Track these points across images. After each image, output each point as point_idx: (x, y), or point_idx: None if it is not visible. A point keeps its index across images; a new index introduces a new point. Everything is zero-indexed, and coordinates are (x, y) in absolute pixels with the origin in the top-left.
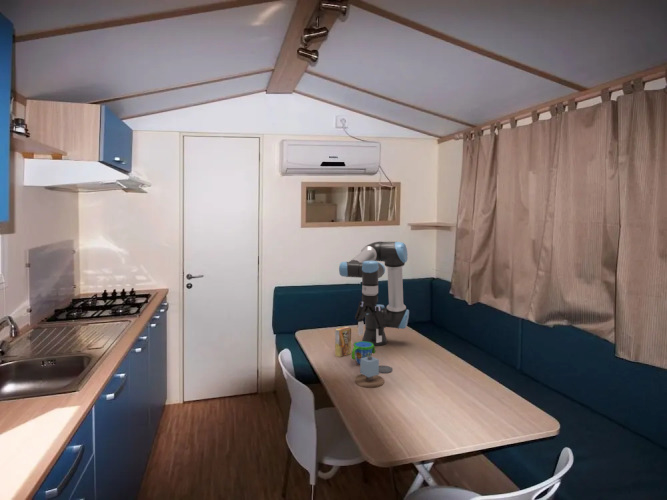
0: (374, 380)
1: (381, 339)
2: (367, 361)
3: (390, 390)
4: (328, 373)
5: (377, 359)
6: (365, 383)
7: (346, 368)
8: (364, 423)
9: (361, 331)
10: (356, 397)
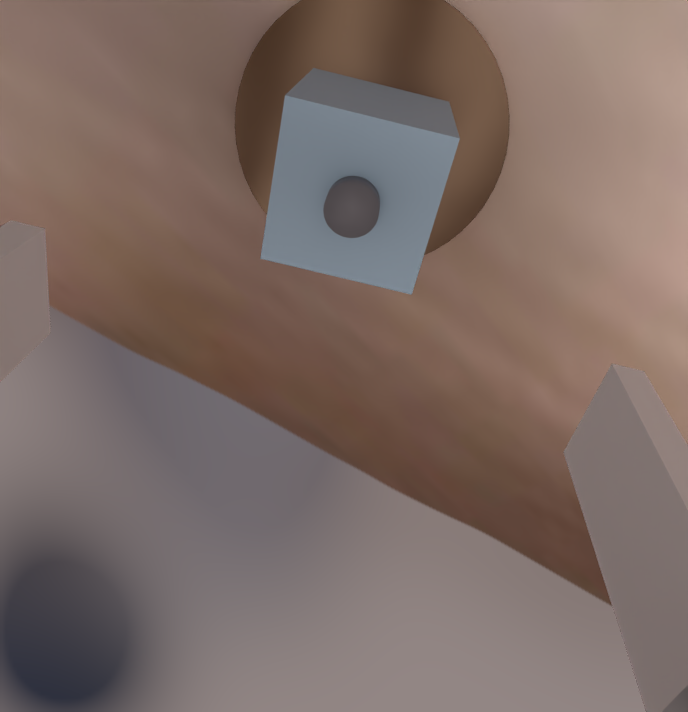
0: None
1: (656, 410)
2: (383, 280)
3: (620, 162)
4: None
5: (441, 145)
6: None
7: (3, 35)
8: None
9: (3, 312)
10: (459, 402)
